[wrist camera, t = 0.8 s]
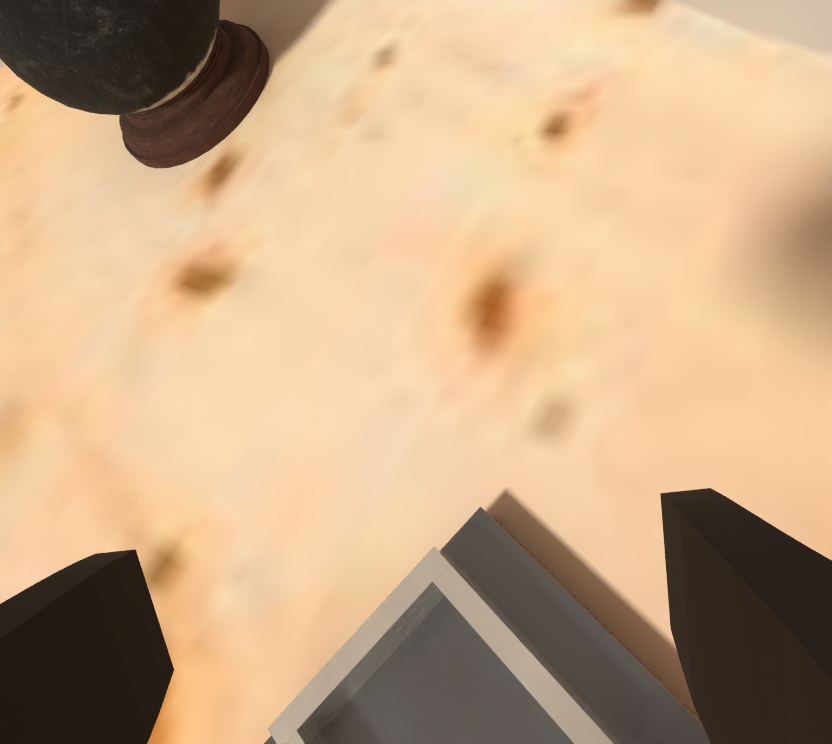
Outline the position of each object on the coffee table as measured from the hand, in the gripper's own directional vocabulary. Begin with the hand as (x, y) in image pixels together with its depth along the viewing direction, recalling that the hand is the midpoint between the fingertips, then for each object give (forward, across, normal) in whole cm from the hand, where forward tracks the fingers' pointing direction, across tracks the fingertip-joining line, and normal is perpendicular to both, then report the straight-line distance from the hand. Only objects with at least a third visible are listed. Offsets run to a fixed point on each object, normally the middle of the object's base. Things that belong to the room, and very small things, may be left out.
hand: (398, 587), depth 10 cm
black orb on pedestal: (+41, +16, -11) cm, 45 cm away
